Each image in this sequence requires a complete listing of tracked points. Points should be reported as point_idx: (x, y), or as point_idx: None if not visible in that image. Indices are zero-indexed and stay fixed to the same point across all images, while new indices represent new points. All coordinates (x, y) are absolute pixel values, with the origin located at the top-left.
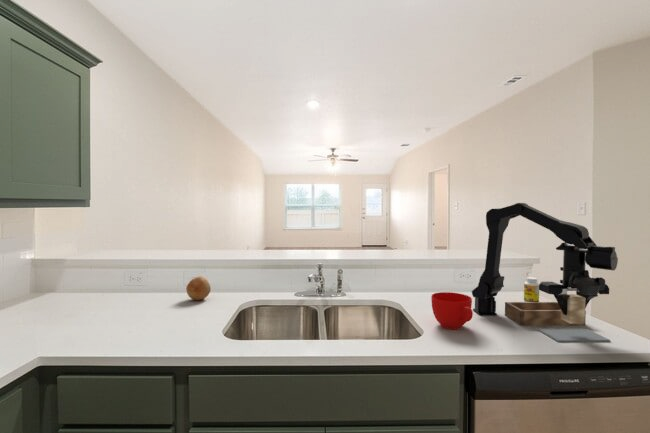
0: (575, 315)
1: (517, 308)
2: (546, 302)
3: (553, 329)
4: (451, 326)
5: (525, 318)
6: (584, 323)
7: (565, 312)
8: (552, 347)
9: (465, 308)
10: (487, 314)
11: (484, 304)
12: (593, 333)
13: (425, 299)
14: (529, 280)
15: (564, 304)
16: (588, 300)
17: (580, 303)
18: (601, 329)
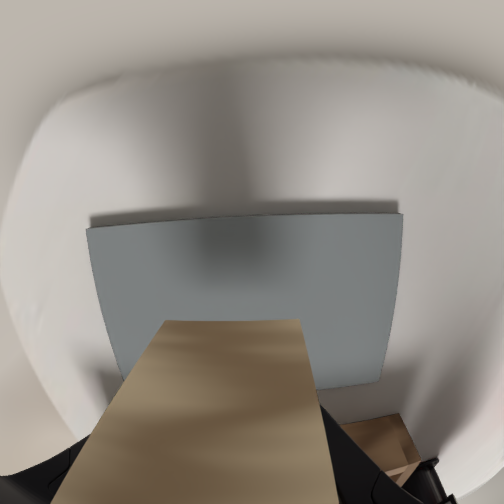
0: (246, 368)
1: (403, 481)
2: None
3: None
4: None
5: (391, 440)
6: (167, 320)
7: (327, 417)
8: (453, 143)
9: None
10: (419, 465)
11: (433, 487)
12: (118, 323)
13: (448, 492)
14: None
15: (383, 482)
16: (27, 480)
17: (143, 492)
18: (71, 371)
